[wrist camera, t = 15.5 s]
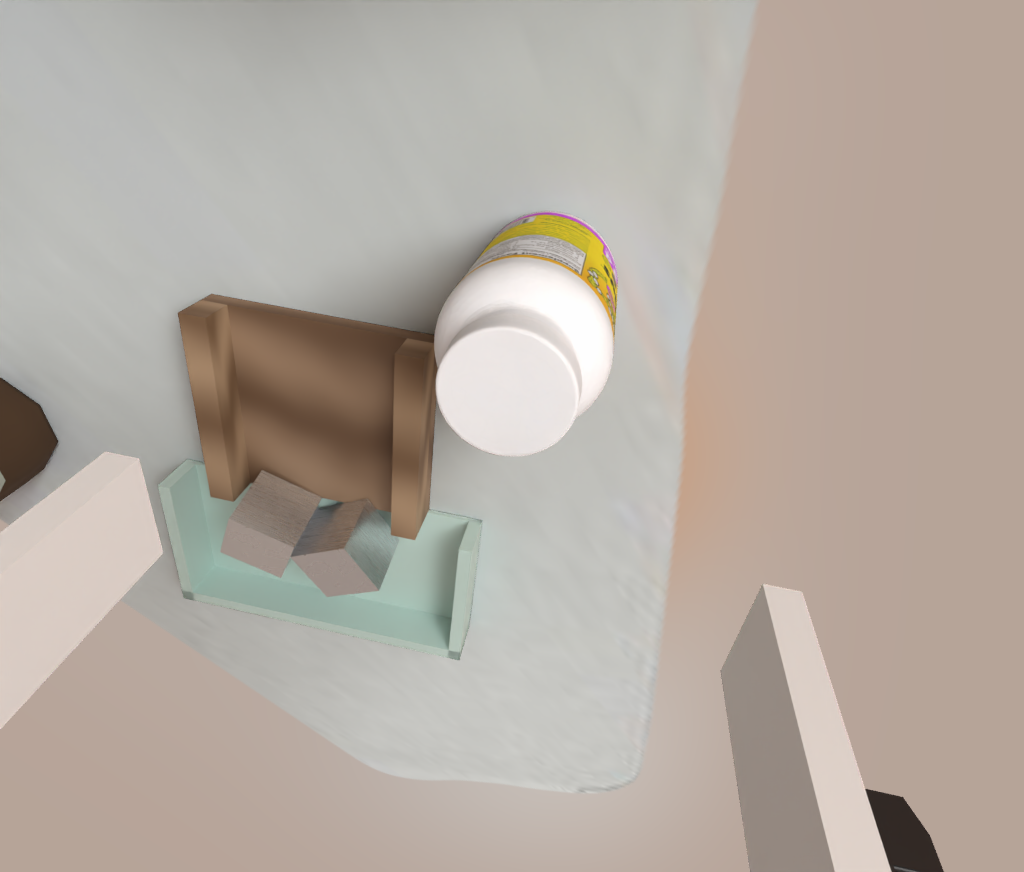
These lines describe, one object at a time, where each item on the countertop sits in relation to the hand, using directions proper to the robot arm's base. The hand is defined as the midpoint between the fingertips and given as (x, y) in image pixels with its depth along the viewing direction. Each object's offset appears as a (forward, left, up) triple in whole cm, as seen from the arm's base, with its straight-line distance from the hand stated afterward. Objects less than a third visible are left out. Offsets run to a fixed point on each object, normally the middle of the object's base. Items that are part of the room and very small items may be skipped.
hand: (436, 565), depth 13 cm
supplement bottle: (0, 0, -21) cm, 21 cm away
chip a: (+17, -15, -20) cm, 30 cm away
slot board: (+10, -12, -21) cm, 26 cm away
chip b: (+18, -10, -20) cm, 28 cm away
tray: (+21, -12, -21) cm, 32 cm away
